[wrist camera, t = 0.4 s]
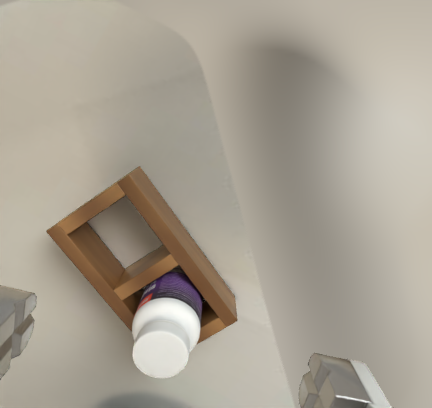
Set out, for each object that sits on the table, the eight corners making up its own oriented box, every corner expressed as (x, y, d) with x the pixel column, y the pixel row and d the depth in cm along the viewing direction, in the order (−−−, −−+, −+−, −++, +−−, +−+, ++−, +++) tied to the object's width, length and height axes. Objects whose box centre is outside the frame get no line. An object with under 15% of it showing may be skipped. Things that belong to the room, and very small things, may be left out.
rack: (139, 165, 30) (128, 174, 26) (235, 296, 33) (237, 320, 29) (66, 216, 31) (45, 231, 27) (166, 337, 35) (160, 365, 31)
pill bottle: (152, 256, 32) (126, 316, 23) (207, 266, 32) (205, 329, 23) (144, 305, 34) (117, 381, 24) (198, 314, 34) (191, 392, 24)
